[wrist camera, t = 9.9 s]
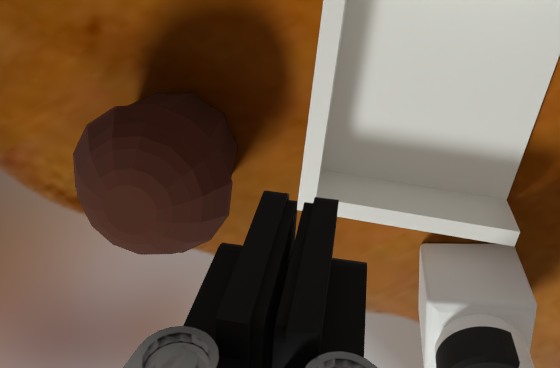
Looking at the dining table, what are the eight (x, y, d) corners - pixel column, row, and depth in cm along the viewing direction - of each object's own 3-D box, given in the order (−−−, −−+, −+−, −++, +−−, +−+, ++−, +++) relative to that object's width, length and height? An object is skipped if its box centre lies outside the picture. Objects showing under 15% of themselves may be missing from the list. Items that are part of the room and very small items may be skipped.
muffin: (154, 42, 37) (85, 85, 28) (280, 128, 39) (252, 193, 30) (95, 160, 43) (23, 225, 34) (207, 230, 44) (165, 309, 36)
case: (340, -81, 31) (333, -78, 27) (593, -54, 30) (630, -46, 25) (305, 176, 40) (296, 209, 36) (499, 208, 39) (514, 246, 34)
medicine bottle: (418, 309, 45) (429, 432, 34) (419, 241, 41) (432, 355, 31) (505, 312, 43) (545, 441, 33) (514, 242, 40) (561, 361, 29)
